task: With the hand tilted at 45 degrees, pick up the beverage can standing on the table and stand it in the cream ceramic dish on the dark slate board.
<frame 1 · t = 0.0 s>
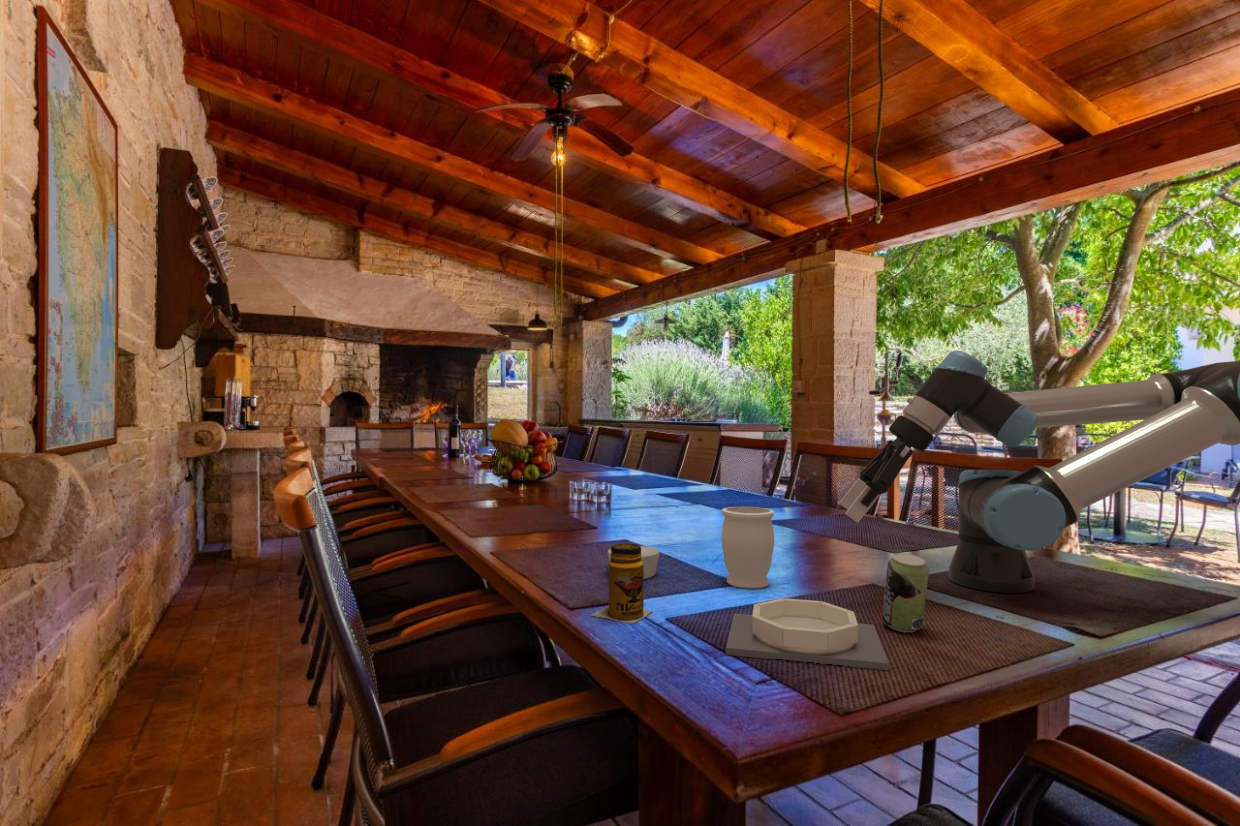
hand: (847, 512, 125), 15 cm above the table, tool tilted 35°, fingers open, 13 cm apart
beverage can: (904, 630, 103), on the table
ramekin: (633, 576, 137), on the table
dish: (803, 624, 98), on the slate board, point 3 cm above the table
jar: (747, 584, 130), on the table
slate board: (803, 642, 98), on the table
condiment: (621, 615, 111), on the table
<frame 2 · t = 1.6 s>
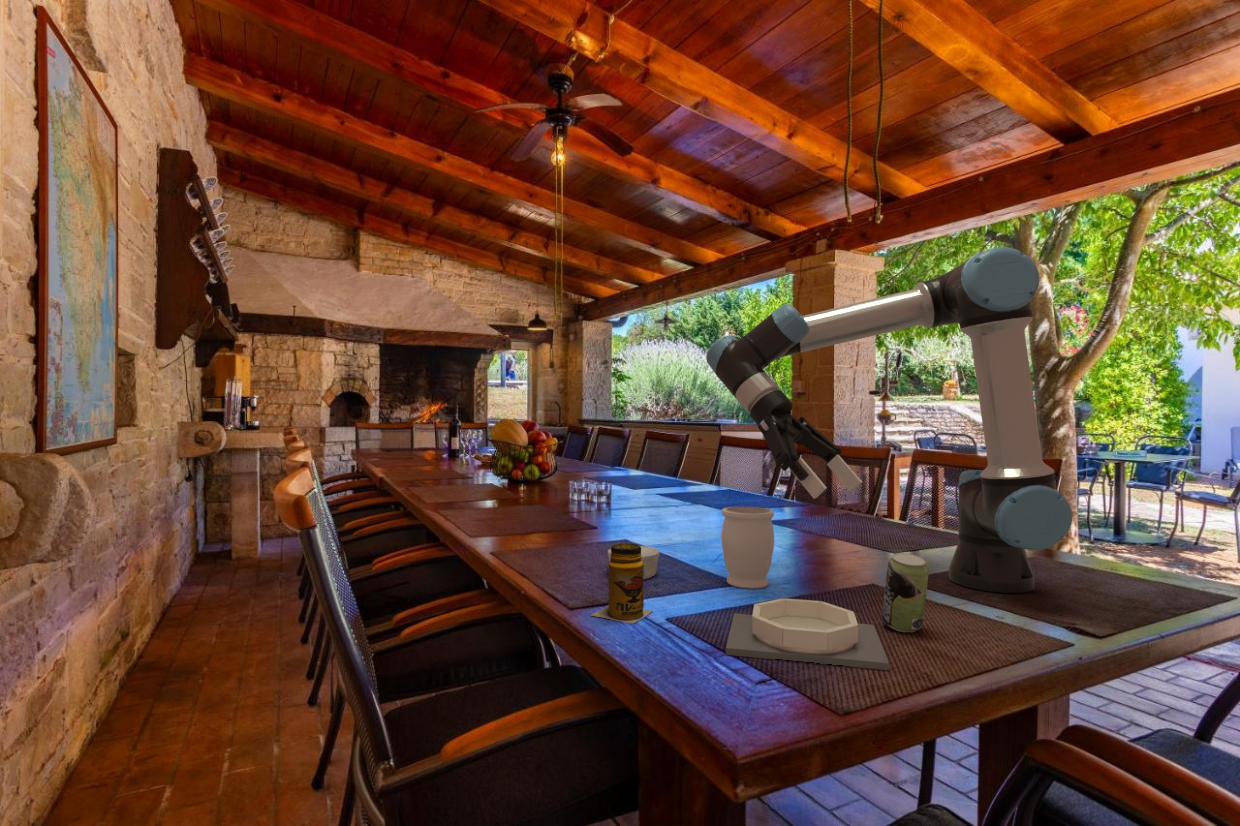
hand: (839, 490, 111), 21 cm above the table, tool tilted 45°, fingers open, 13 cm apart
nothing on the table moved.
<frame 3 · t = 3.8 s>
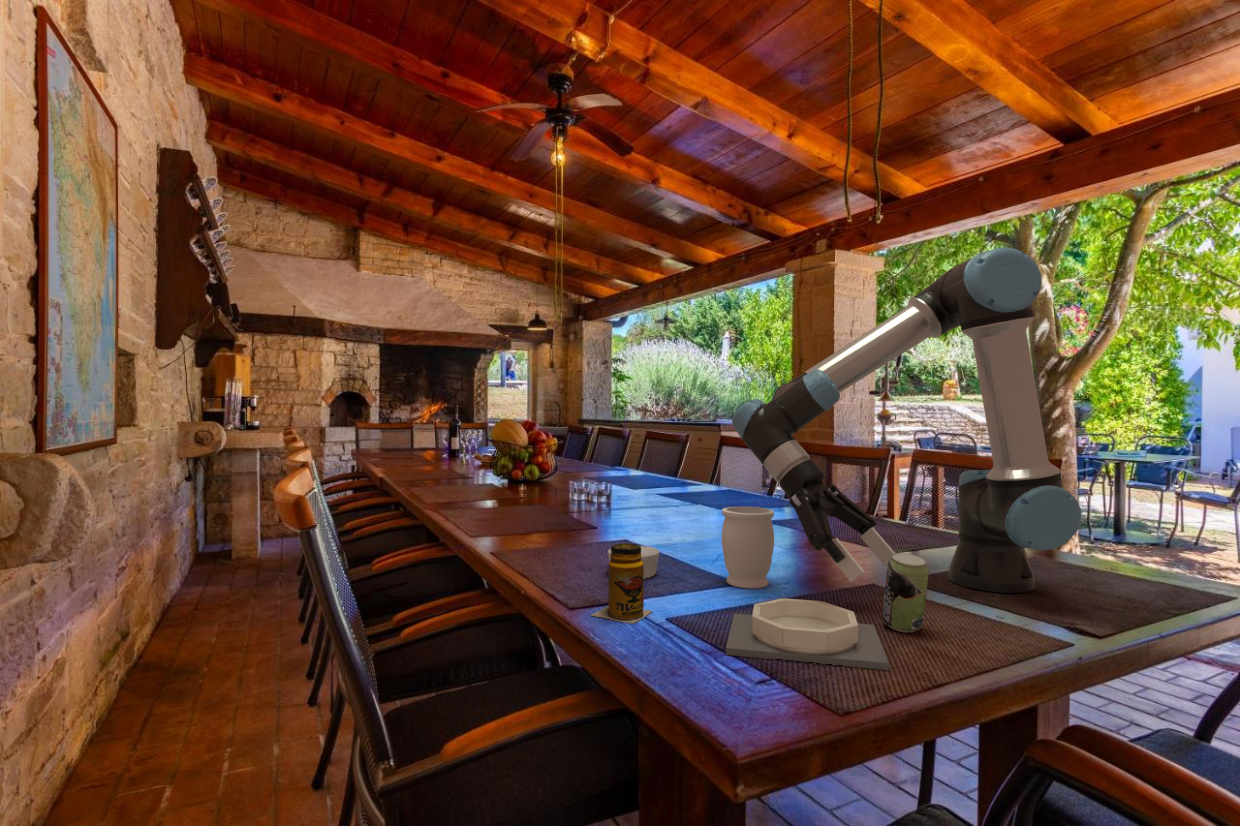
hand: (876, 569, 106), 9 cm above the table, tool tilted 45°, fingers open, 13 cm apart
nothing on the table moved.
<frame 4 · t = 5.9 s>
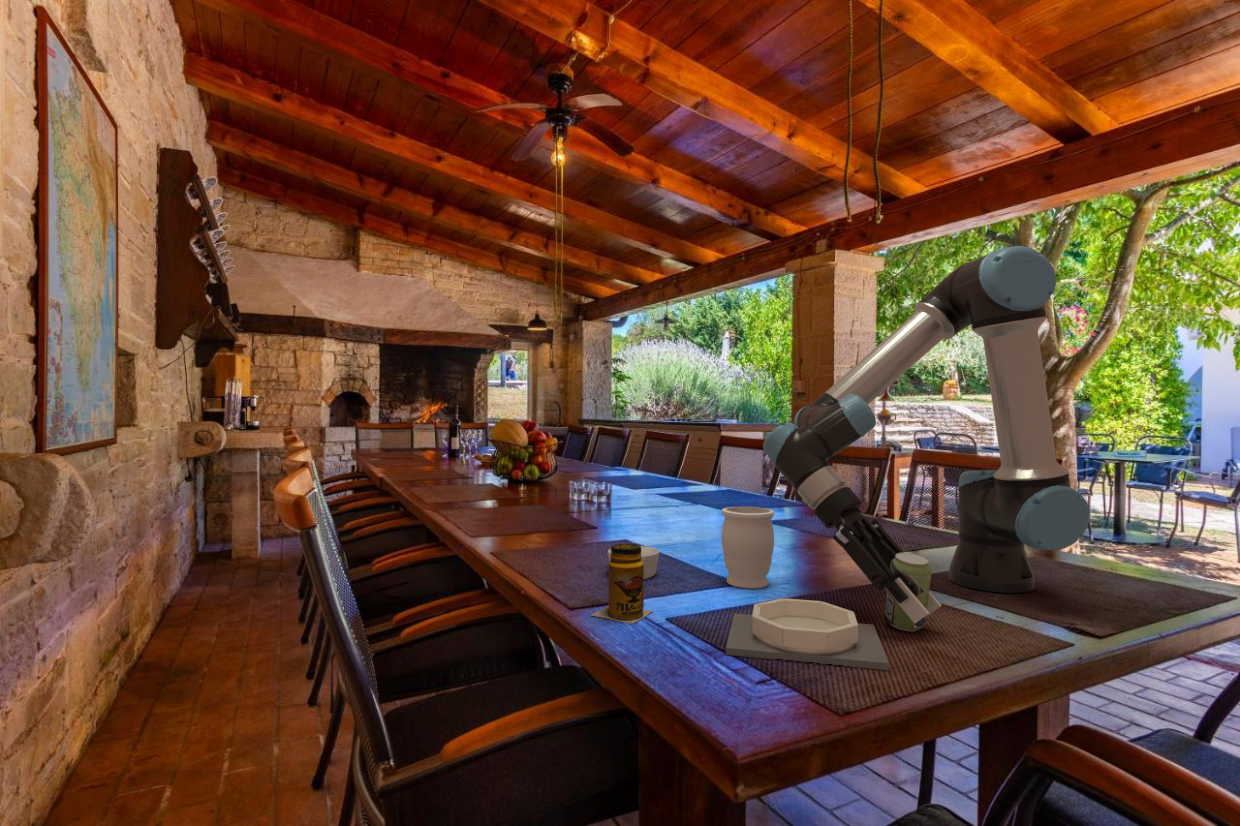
hand: (928, 614, 101), 3 cm above the table, tool tilted 45°, fingers closed on beverage can, 5 cm apart
beverage can: (906, 629, 104), on the table, touching gripper
everything else where it was.
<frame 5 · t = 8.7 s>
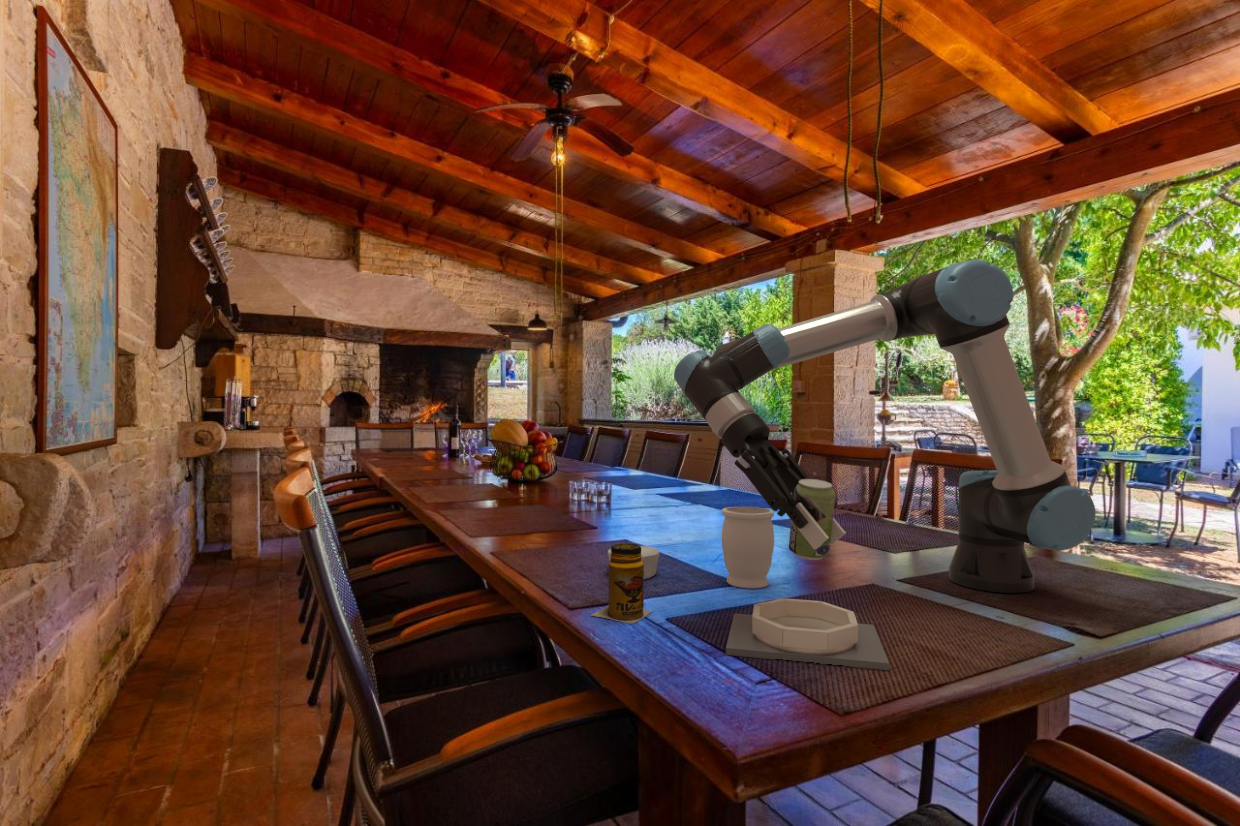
hand: (830, 540, 95), 16 cm above the table, tool tilted 45°, fingers closed on beverage can, 5 cm apart
beverage can: (810, 559, 99), point 12 cm above the table, touching gripper
everything else where it was.
when the fingers open (5 cm above the table, at t = 11.4 s): beverage can stays where it is, resting on dish.
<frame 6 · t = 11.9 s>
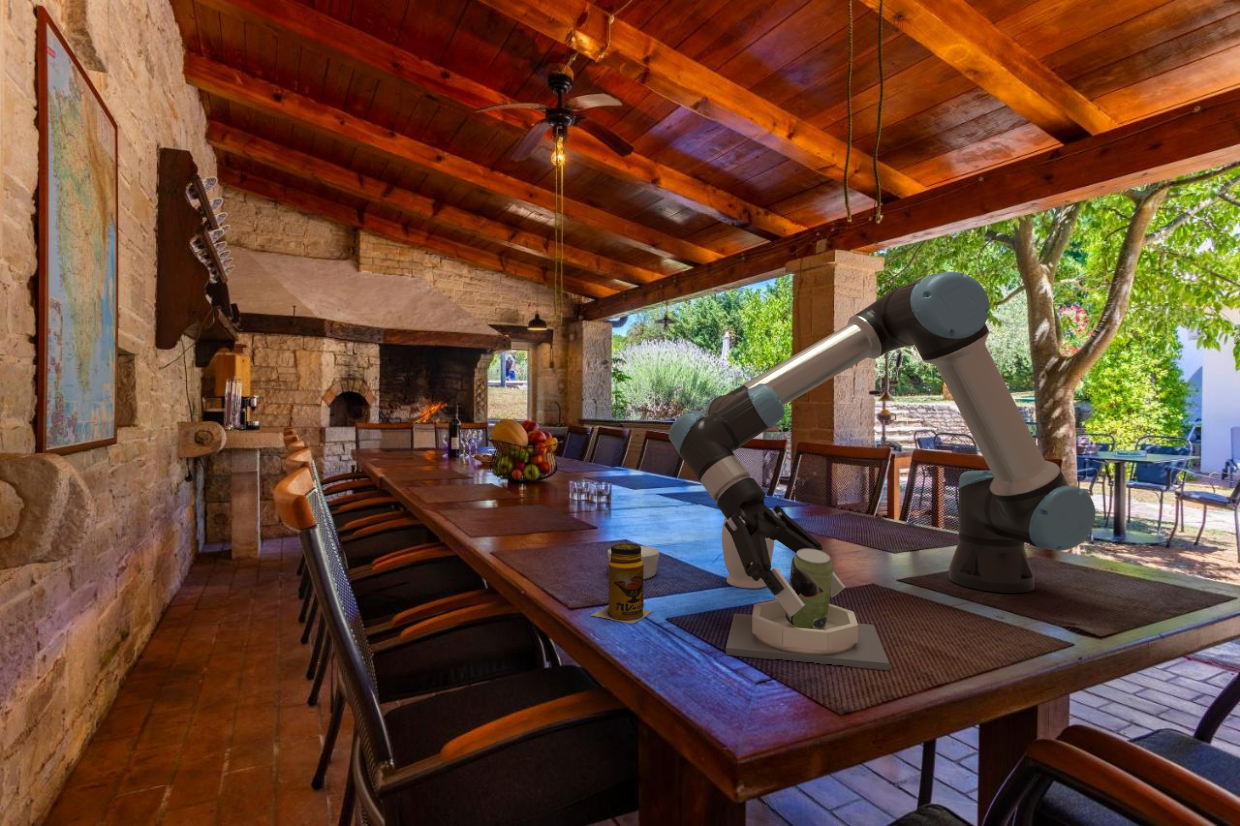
hand: (819, 601, 96), 7 cm above the table, tool tilted 45°, fingers open, 12 cm apart
beverage can: (807, 629, 98), point 2 cm above the table, touching dish
everything else where it was.
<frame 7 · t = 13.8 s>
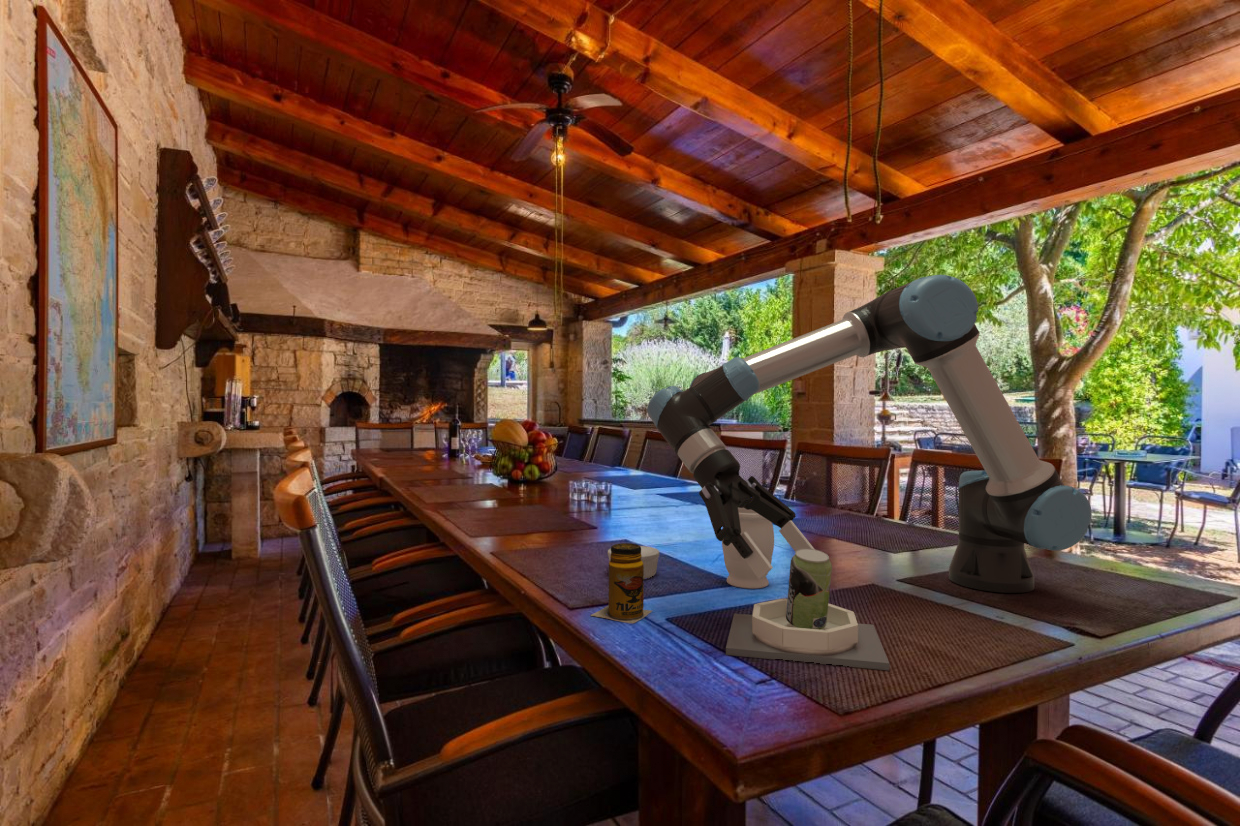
hand: (789, 565, 99), 11 cm above the table, tool tilted 45°, fingers open, 13 cm apart
nothing on the table moved.
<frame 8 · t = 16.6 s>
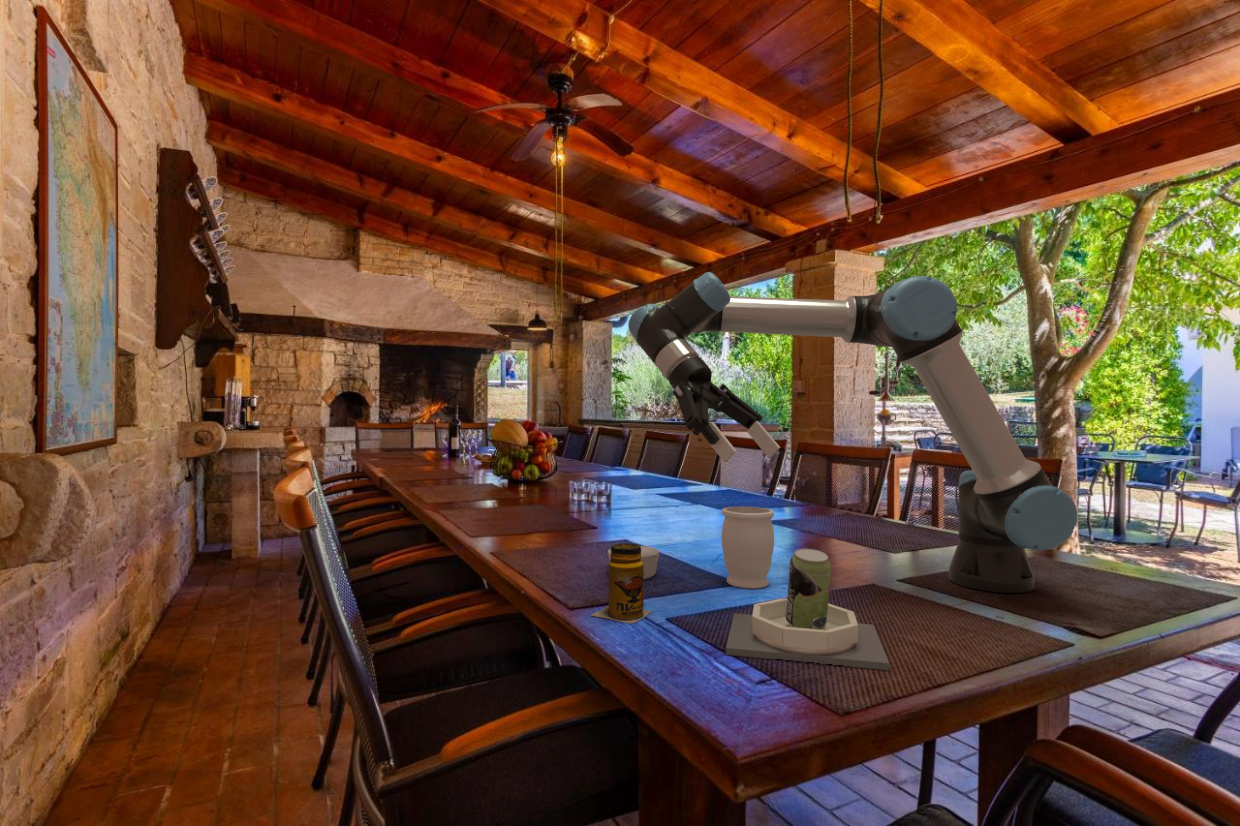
hand: (753, 454, 109), 28 cm above the table, tool tilted 45°, fingers open, 13 cm apart
nothing on the table moved.
at the end: beverage can 1.1 cm from the dish (horizontally); beverage can tilted 0°; the gripper is holding nothing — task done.
